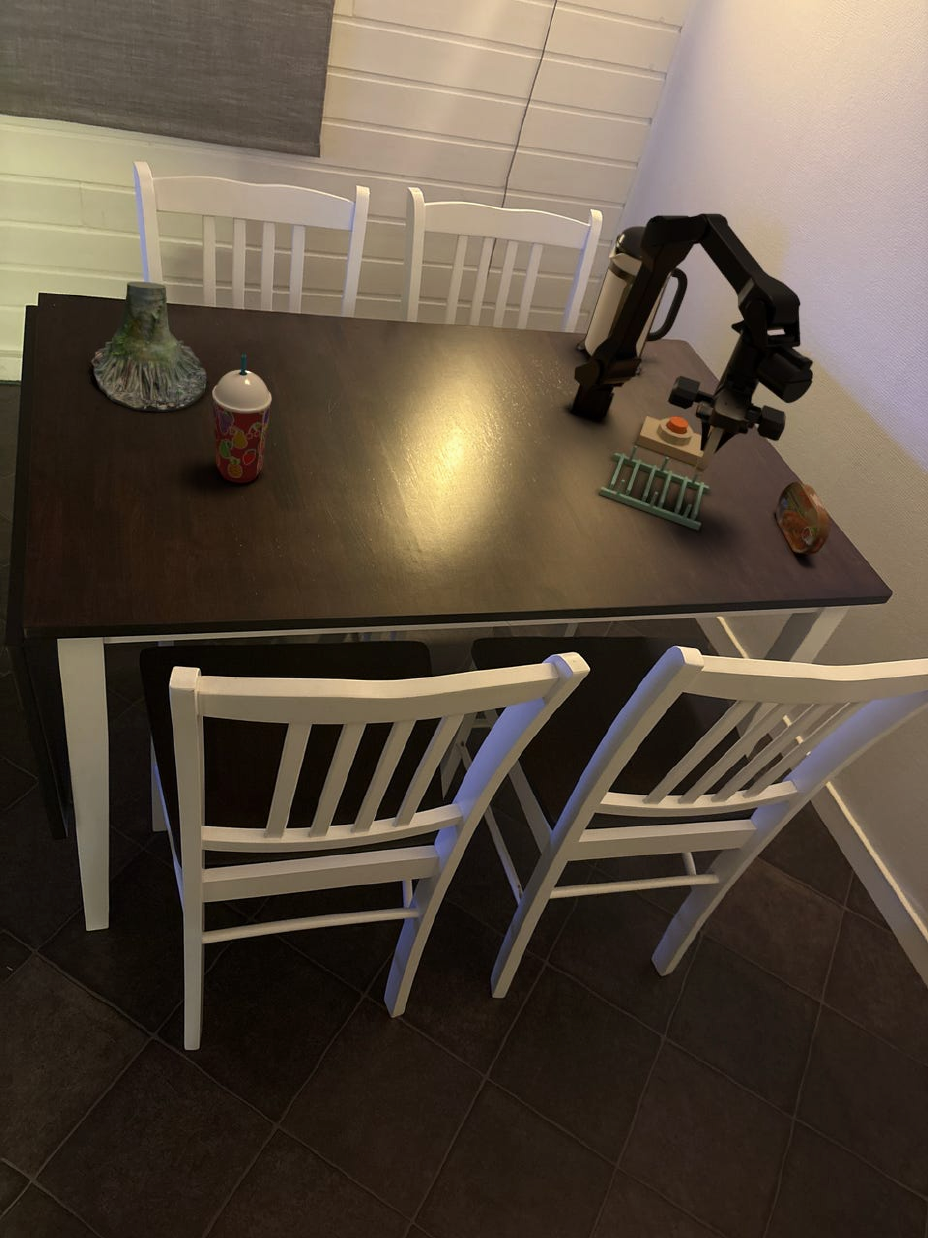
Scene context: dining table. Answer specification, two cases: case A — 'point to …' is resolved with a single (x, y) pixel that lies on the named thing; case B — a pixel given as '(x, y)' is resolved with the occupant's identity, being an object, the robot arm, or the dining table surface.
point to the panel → (670, 440)
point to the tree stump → (148, 357)
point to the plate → (708, 450)
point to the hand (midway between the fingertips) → (706, 451)
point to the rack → (649, 507)
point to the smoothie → (240, 423)
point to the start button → (677, 425)
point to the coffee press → (618, 287)
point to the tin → (802, 518)
